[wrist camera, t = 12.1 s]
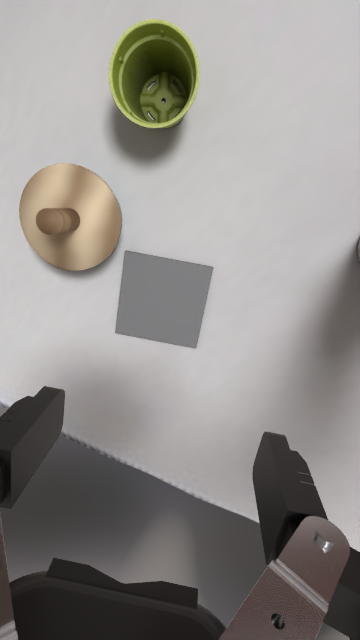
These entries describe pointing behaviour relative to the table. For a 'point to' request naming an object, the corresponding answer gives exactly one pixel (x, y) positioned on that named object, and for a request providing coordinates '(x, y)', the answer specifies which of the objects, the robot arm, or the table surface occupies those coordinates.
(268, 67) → the table surface
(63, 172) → the lid
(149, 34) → the plant pot
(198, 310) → the mat
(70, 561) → the robot arm
